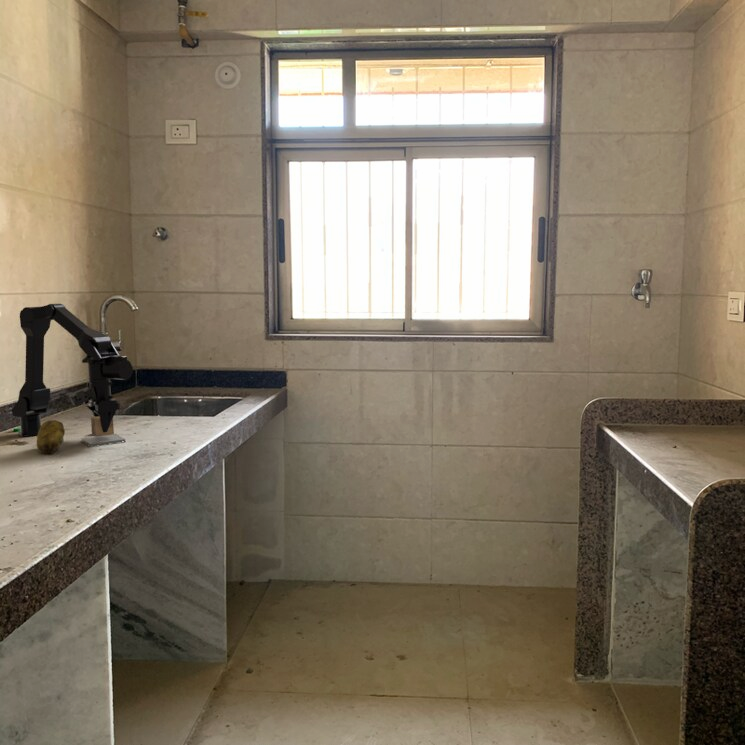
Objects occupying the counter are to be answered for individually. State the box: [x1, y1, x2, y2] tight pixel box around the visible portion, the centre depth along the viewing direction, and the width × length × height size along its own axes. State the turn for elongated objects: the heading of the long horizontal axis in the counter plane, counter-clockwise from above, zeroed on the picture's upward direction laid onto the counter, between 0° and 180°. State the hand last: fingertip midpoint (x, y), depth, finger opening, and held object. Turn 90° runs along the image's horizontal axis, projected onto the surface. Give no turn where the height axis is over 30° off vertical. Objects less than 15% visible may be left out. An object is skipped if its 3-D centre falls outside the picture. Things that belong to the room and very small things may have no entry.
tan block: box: [90, 416, 115, 437], centre depth 211 cm, size 5×5×5 cm
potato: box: [36, 419, 65, 455], centre depth 200 cm, size 8×13×8 cm, turn 1°
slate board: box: [80, 433, 126, 447], centre depth 211 cm, size 10×10×1 cm
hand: (102, 430), depth 211 cm, fingers closed on tan block, 5 cm apart
